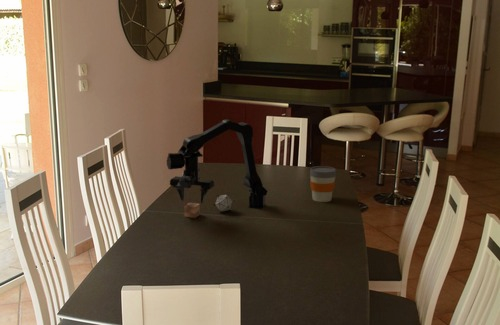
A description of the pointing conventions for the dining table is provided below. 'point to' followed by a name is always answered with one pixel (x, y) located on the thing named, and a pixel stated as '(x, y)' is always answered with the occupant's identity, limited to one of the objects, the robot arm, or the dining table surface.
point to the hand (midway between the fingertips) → (192, 201)
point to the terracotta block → (192, 210)
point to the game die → (223, 202)
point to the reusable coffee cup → (322, 183)
